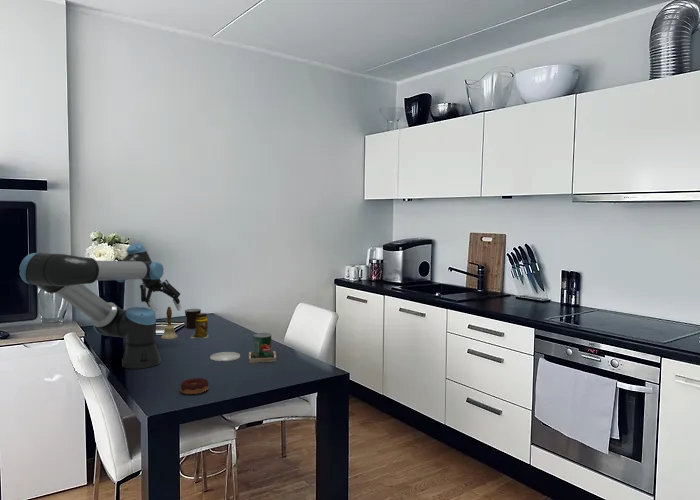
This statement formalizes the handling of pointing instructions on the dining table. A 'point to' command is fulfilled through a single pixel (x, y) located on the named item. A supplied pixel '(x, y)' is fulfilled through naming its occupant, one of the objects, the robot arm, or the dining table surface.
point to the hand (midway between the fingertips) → (167, 310)
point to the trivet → (225, 356)
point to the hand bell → (169, 327)
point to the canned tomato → (262, 345)
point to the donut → (194, 386)
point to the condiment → (201, 326)
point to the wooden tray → (256, 360)
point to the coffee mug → (191, 317)
